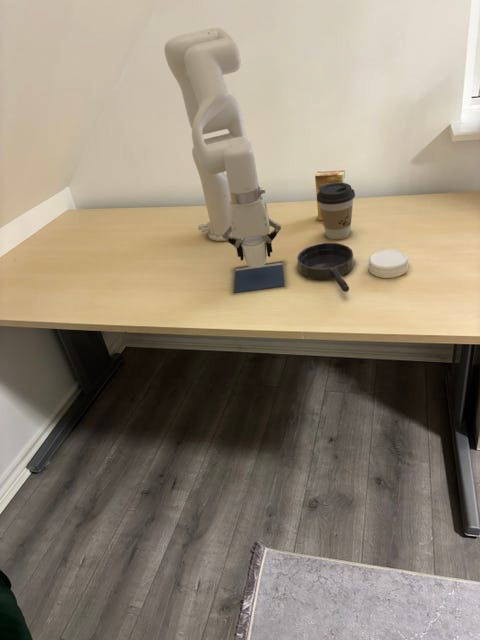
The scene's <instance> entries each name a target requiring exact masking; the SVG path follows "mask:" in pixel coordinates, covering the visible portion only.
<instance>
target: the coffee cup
mask: <svg viewBox="0 0 480 640" xmlns="http://www.w3.org/2000/svg"><path fill="white" fill-rule="evenodd" d="M355 197H356V193H355V190H354V189H353V188H352V186H351V185H350V184H349V183H347V182H345V183H331V184H327V185H325V186H323V187H321V188H320V190H319V193H318V194H316V202H317V201H318V202H319V205H320V209H321V214H322V219H323V220H322V222H323V228H324V232H325V233H324V234H325V235H326V238H328V239H329V240H336V241H337V240H344V239H346V238H348V237H349V236H350V233H351V226H352V217H353V205H354V198H355Z"/></svg>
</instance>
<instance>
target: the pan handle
mask: <svg viewBox="0 0 480 640" xmlns="http://www.w3.org/2000/svg"><path fill="white" fill-rule="evenodd" d="M330 272H331V273H332V275H333V277H334V278H335V279H334V280H335V282H336V283H337V284H338V286H339V287H340V289H341V290H342V292H343V293H347V292H349V290H350V286H349V285H348V283H347V282H346V280H345V279H344V277H343V276H341V274H340V273H339V271H338V270H337V268H336V267H335V268H334V267H333V268H330Z"/></svg>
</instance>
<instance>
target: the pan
mask: <svg viewBox="0 0 480 640" xmlns="http://www.w3.org/2000/svg"><path fill="white" fill-rule="evenodd" d="M354 262H355V261H354V251H353V250H352V249H351V248H350V247H349V246H348V245H345V244H342V243H337V242H323V243H322V242H321V243H316V244H312V245H310V246H308V247H306V248H304V249H302V251H300V252H299V253H298V255H297V266H298V267H297V268H298V272H299V273H300V274H301V275H302V276H304V277H305V278H308V279H310V280H315V281H328V280H335V278H334V277H333V275H332V273H331V272H330V268H333V267H334V268H335V267H336V268H337V270H338V271H339V273H340V274H341V276H342V277H343V276H345V275H346V274H348V273H349V272H351V270H353V268H354Z"/></svg>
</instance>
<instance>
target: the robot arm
mask: <svg viewBox="0 0 480 640" xmlns="http://www.w3.org/2000/svg"><path fill="white" fill-rule="evenodd" d="M164 55H165V59H166V62H167V66H168V68H169V70H170V72H171V74H172V75H173V77H174V78H175V80H176V82H177V84H178V86H179V88H180V91H181V94H182V97H183V98H182V99H183V102H184V106H185V111H186V114H187V115H186V116H187V119H188V122H189V126H190V129H191V140H192V144H193V145H192V149H191V155H192V159H193V161H194V164H195V167H196V170H197V173H198V176H199V179H200V182H201V187H202V191H203V196H204V201H205V205H206V211H207V215H208V219H209V221H208V222H206V223H200V224H198V225H197V228H198V231H200V232H201V233H205V232H207V237H208V238H209V239H210V240H211V241H218V242H225V241H227V242H228V243H229V244H230V245H232V246H233V247H234V248H235V250H236V254H237V257H238V258H240V261H241V262H242V261H244V259H245V256H244V253H243V249H242V246H241V240H242V239H244V238H251V237H258V236H263V237H264V238H265V240H266V256H267V257H268V258H271V253H273V245H272V244H273V243H272V242H273V240H274V239H275V238H276V237H277V235H278V233H279V232H280V231H281V230H282V225H281V224H279V223H278V222H276V221H274V220H273V219H271V218H269V212H268V208H267V203H266V200H265V198H264V196H263V194H266V187H261V186H259V180H258V172H257V166H256V160H255V159H256V158H255V152H254V149H253V146H252V143H251V142H250V141H249V140H248V138H247V134H246V131H245V130H246V129H245V123H244V119H243V115H242V111H241V106H240V104H239V101H238V100H237V98H236V96H234V95H232V94H230V93H229V91H228V87H227V85H226V81H225V78H224V76H225V75H229V74H233V73H236V72H238V71H239V69H240V67H241V54H240V51H239V48H238V46H237V43H236V42H235V40H234V39H233V38H232V37H231V35H230V34H229V33H228V32H227V31H226V30H224V29H222V28H221V27H213V28H207V29H203V30H198V31H193V32H192V31H191V32H188V33H184V34H180V35H176V36H174V37H172V38H169V39H168V40H167V41H166V43H165V44H164ZM224 130H228V133H225V134H224V133H223V134H221V135H216V136H212V137H208V138H207V137H206V138H204V135H208V134H211V133H215V132H220V131H224ZM270 227H272V228H273V230H272V231H271V228H270Z"/></svg>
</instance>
